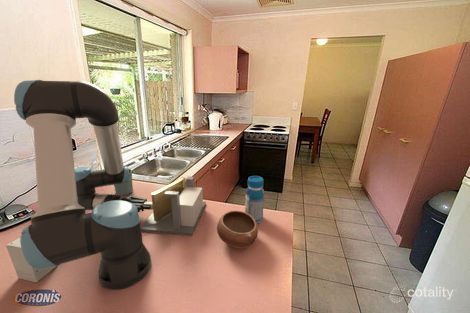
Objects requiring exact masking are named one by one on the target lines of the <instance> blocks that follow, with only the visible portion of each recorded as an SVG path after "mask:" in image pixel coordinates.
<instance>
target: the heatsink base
mask: <svg viewBox="0 0 470 313" xmlns="http://www.w3.org/2000/svg"><path fill="white" fill-rule="evenodd" d="M185 178H186V187H185V189H184V190H183V192H182V193H181V194H180V196H179V192H176V191H166V192H165V193H164V197H165V198H171V201H172V212H171V213H170V214H168V215H167V216H165V217H164V218H162V219H161V220H159V221H158V222H156V221H154V213H153V212H152V213H151V214H150V215H149V216H148V218H147V219H146V221H145V222H144V223H143V224H142V225H140V228H141V232H144V233H145V232H147V233H157V234H172V235H183V236H193V235H194V233H195V230H196V228H197V225H198V223H199V221H200V219H201V217H202V214H203V212H204V209H205V208H206V205H207V202H206V201H204V200H203V187H198V186H197V187H196V186H195V176H187V177H185Z"/></svg>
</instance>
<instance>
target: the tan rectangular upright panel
mask: <svg viewBox="0 0 470 313" xmlns="http://www.w3.org/2000/svg"><path fill="white" fill-rule="evenodd" d="M186 178H187V177H181V178H179V179H178V180H176V181H174V182H171V183H170V184H167V185H166V186H164V187H162V188H160V189H158V190H156V191H153V192H151V195H150V197H151V202H152V205H153V210H152V211H153V212H152V213H154V221H156V222H158V221H159V220H161V219H162V218H164V217H165V216H167V215H168V214H170V213H171V212H172V201H171V198H165V197H164V193H165V192H166V191H176V192H179V196H180V194H181V193H182V192H183V190H184V189H185V187H186Z"/></svg>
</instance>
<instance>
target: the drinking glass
mask: <svg viewBox="0 0 470 313" xmlns="http://www.w3.org/2000/svg"><path fill="white" fill-rule="evenodd" d="M129 174H130V181H129V182H125V183H122V184H115V185H113V186H114V191H115V192H114V193H115V195H119V196H126V195H130V194H132V192H133V191H134V188H133V170H132V169H131V168H129ZM129 193H130V194H129Z"/></svg>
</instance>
